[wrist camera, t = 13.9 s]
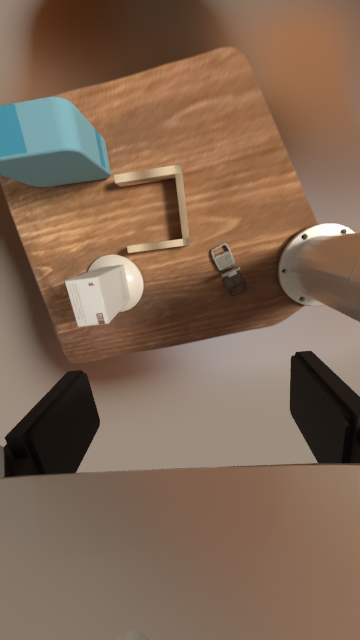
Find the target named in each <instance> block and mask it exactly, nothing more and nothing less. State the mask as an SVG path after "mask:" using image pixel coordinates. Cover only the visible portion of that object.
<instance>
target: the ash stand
mask: <svg viewBox="0 0 360 640" xmlns="http://www.w3.org/2000/svg"><path fill="white" fill-rule="evenodd" d="M174 178H176V187H177V196H178V204H179V213H180V222H181V230H182V239H177V240H170V241H162V242H155V243H147V244H140V245H132V246H127V250H128V253H132V252H140V251H148V250H155V249H163V248H170V247H178V246H186V245H190V238H189V228H188V219H187V210H186V200H185V191H184V182H183V172H182V165H181V164H179V165H173V166H167V167H161V168H154V169H148V170H142V171H136V172H130V173H124V174H118V175H114V180H115V184H117V185H118V186H120V187H124V186H130V185H136V184H143V183H149V182H155V181H162V180H168V179H174Z"/></svg>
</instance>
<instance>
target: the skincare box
mask: <svg viewBox="0 0 360 640" xmlns="http://www.w3.org/2000/svg"><path fill="white" fill-rule="evenodd" d="M65 285H66V288H67V291H68V294H69V298H70V301H71V304H72V308H73V311H74V314H75V318H76V321H77V325H78V327H83V326H91V325H101V324H109V323H110V321H111V320H112V319H113V318H114V317H115V316H116V315H117V313H118V312H119V311H120V310H121V309H122V308H123V307H124V306H125V305H126V303H127V302H128V301H129V300H130V294H129V289H128V284H127V279H126V273H125V268H124V265H115V266H107V267H100V268H98V269H95V270H93V271H90V272H87V273H84V274H82V275H79V276H76V277H74V278H71V279H68V280H66V281H65Z"/></svg>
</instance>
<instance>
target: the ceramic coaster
mask: <svg viewBox="0 0 360 640" xmlns="http://www.w3.org/2000/svg"><path fill="white" fill-rule="evenodd" d="M115 265H124V268H125V273H126V279H127V284H128V289H129V294H130V300H129V301H128V302H127V303H126V305H125V306H124V307H123V308H122V309H121V310H120V311H119V312H123V311H126V310H129V309H131V308H132V307H134V306H135V305H136V304H137V303H138V301H139V300H140V299H141V297H142V294H143V290H144V280H143V276H142V274H141V272H140V270H139V268H138V267H137V266H136V265H135V263H133V262H132V261H131V260H129V259H128V258H126V257H124V256H120V255H106V256H103V257H100V258H99V259H97V260H96V261H95V262H94V263H93V264H92V265H91V266H90V268H89V270H88V272H90V271H93V270H95V269H98V268H100V267H107V266H115Z"/></svg>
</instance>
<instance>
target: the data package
mask: <svg viewBox="0 0 360 640" xmlns="http://www.w3.org/2000/svg"><path fill="white" fill-rule="evenodd" d="M0 175H1V176H4V177H7V178H10V179H13V180H16V181H19V182H22V183H25V184H28V185H31V186H34V187H52V186H58V185H65V184H72V183H79V182H86V181H93V180H100V179H106V178H108V177H110V176H111V172H110V166H109V161H108V155H107V149H106V144H105V140H104V138H103V137H102V136H101V135H100V134H99V133H98V131H97V130H96V129H95V128H94V127H93V126H92V125H91V124H90V123H89V121H88V120H87V119H86V118H85V117H84V116H83V115H82V114H81V112H80V111H79V110H78V109H77V108H76V107H75V106H74V105H73V104H72V103H71V102H70V101H68V100H67V99H64V98H60V97H47V98H41V99H36V100H30V101H25V102H20V103H14V104H8V105H3V106H0Z"/></svg>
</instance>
